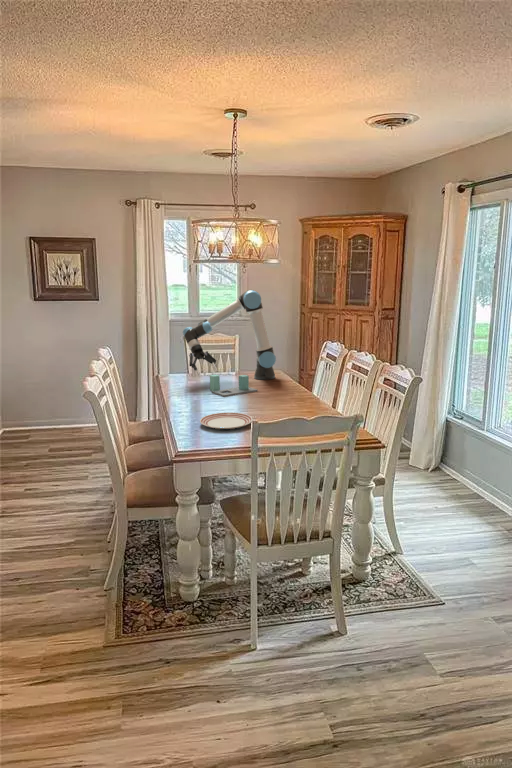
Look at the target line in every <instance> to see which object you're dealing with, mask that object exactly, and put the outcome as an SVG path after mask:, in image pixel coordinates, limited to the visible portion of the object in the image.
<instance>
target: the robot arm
mask: <svg viewBox="0 0 512 768" xmlns="http://www.w3.org/2000/svg"><path fill="white" fill-rule="evenodd" d="M242 310H243V311H244V310H245V312H246V313H247V314H249V320H250V322H251V323H250V324H251V328H252V331H253V335H254V339H255V342H256V343H255V344H256V346H257V347H256V350H255V352H256V368H255V373H254V375H253V377H254V379H256V380H264V381H265V380H268V381H269V380H274V379H275V378H276V373H275V370H274V365H275V363H276V361H277V357H276V355H275V351H274V348H273V346H272V345H271V344H270V340H269V337H268V333H267V328H266V326H265V321H264V317H263V313H262V312H263V303H262V297H261V294H260V293H259V292H258V291H256V290H254V289H249V290H246V291H244V292H243V293H242V294H241V295H240V296H238V297H237V298H236V300H234V301H233V302H231V303H230V304H228V305H226V306H225V307H223V308H222V309H220V310H218V311H217V312H215V313H213V314H212V315H210V316H209V317H207V318H206V319H204V320H202V321H200V322H198V324H197V326H195V327H192V326H188V327H185V328H184V329H183V330H182V334H183V337H184V340H185V342H186V343H187V345H188V347H189V349H190V351H191V352H190V353H189V355H188V356H189V367H191V368H192V369H193V370H194V371H195V372H196V375H197V376H199V375H200V374H201V371H200V369H199V367H198V365H197V364H196V363H197V361H198V360H205V361H206V362H208V363H209V364H211V367H212V369H213V371H214V373H217V372H218V368H217V364H216V363H217V359H216V358H214V357H213V356H212V355H211V354H210V353H209V351H207V350H206V351H205V352H204V349H203V348H202V345H201V343H200V341H199V339H200V338H201V337H203V336H205V335H207V334H209V333H211V332H212V331H213V328H214V327H215V326H218V325H219V324H221V323H223V322H224V321H226V320H227V319H229V318H230V317H232V316H233V315H235V314H237V313H238V312H240V311H242ZM193 358H194V360H193Z"/></svg>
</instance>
